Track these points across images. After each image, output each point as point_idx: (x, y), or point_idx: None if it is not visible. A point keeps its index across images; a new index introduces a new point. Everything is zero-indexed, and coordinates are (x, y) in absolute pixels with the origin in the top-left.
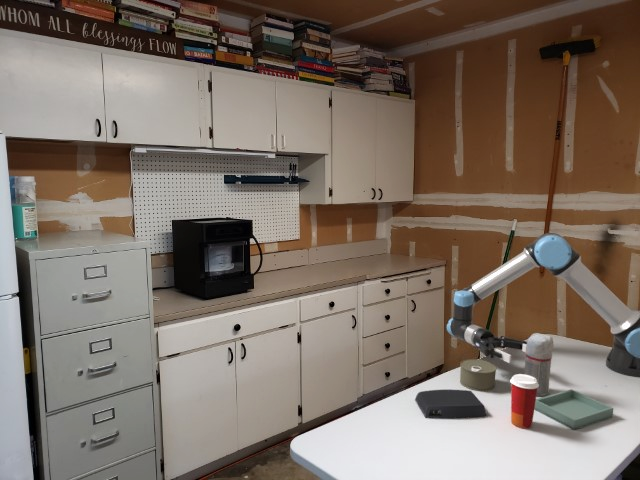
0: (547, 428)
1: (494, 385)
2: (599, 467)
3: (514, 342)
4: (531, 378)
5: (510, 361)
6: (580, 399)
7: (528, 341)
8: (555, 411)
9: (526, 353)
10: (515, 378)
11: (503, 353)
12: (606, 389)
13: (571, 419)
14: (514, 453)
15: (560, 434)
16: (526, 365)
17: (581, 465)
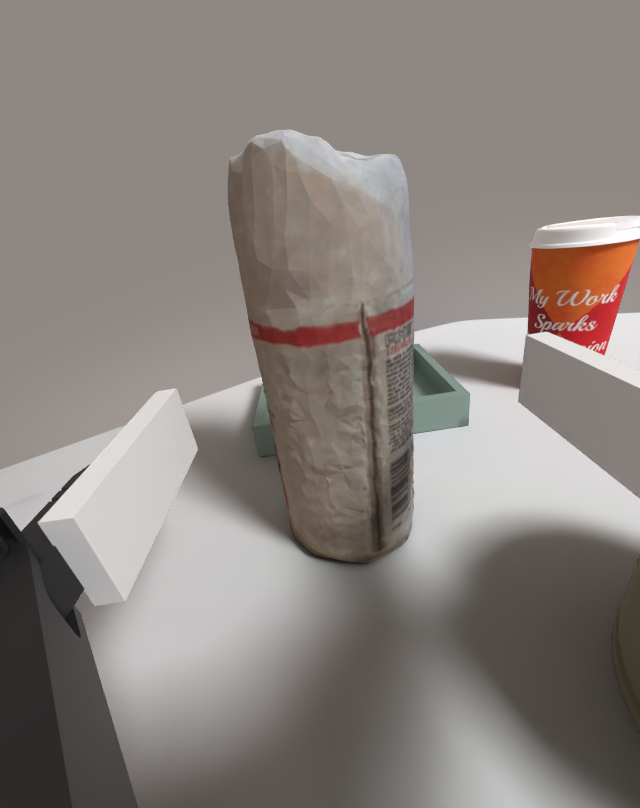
0: (484, 371)
1: (617, 618)
2: (456, 325)
3: (48, 659)
4: (555, 226)
5: (525, 388)
6: (269, 419)
7: (405, 177)
8: (436, 363)
9: (410, 296)
10: (629, 217)
11: (604, 363)
12: (68, 480)
13: (420, 347)
14: (620, 333)
15: (464, 361)
16: (413, 376)
17: (485, 325)
